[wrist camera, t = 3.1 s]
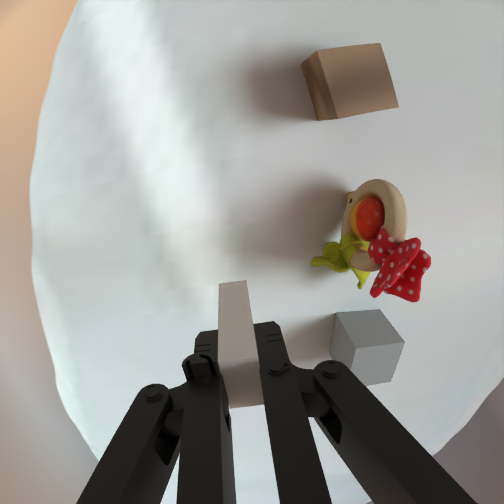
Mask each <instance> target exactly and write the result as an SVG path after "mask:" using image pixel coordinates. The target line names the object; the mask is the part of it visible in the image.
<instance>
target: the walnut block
mask: <svg viewBox="0 0 504 504" xmlns="http://www.w3.org/2000/svg"><path fill="white" fill-rule="evenodd" d="M301 67H302V70H303V73H304V76H305V79H306V82H307V86H308V89H309V92H310V95H311V99H312V102H313V105H314V109H315V112H316V116H317V119H318V121H321V120H332V119H340V118H345V117H349V116H354V115H359V114H364V113H369V112H374V111H380V110H385V109H391V108H397V107H399V106H398V102H397V98H396V94H395V90H394V87H393V83H392V79H391V76H390V73H389V69H388V66H387V63H386V59H385V56H384V53H383V50H382V47H381V44H380V43H375V44H364V45H354V46H346V47H338V48H331V49H325V50H318V51H316V52H315V53H314V54H312V55H311V56H310V57H309V58H308V59H307V60H305V61H304V62H303V63H302V64H301Z"/></svg>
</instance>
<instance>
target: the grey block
mask: <svg viewBox="0 0 504 504" xmlns="http://www.w3.org/2000/svg"><path fill="white" fill-rule="evenodd" d="M404 343H405V342H404V340H403V339H402V338H401V336H400V335H399V334H398V332H397V331H396V330H395V328H394V327H393V326H392V325H391V323H390V322H389V321H388V319H387V318H386V317H385V315H384V314H383V313H382V312H381V310H380V309H378V310H365V311H352V312H337V313H336V316H335V322H334V327H333V333H332V338H331V343H330V349H329V352H330V355H331V357H332V359H333V360H336V361H339V362H342V363H343V364H345V365H346V366H347V367H348V368H349V369H350V370H351V371H352V372H353V374H354V375H355V376H356V377H357V378H358V379H359V380H360V381H361V382H362V383H363V384H364V385H365V386H368V385H374V384H379V383H385V382H390V381H391V379H392V377H393V374H394V371H395V369H396V366H397V363H398V360H399V358H400V355H401V352H402V349H403V346H404Z"/></svg>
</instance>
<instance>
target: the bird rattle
mask: <svg viewBox="0 0 504 504" xmlns="http://www.w3.org/2000/svg"><path fill="white" fill-rule="evenodd" d="M406 227H407V212H406V206H405V202H404V199H403V197H402V195H401V193H400V191H399V190H398V189H397V188H396V187H395V186H394V185H393V184H391V183H389V182H387V181H385V180H381V179H374V180H370V181H367V182H365V183H364V184H362V185H361V186H360V187H358V189H357V190H356V191H353V192H349V193H348V194H347V205H346V208H345V212H344V215H343V220H342V229H341V240H340V244H341V245H340V244H339V243H337V242H330V243H328V244H327V245H326V246H325V247H324V253H323V256H320V257H313V258H312V261H311V263H310V265H312V266H324V265H327V266H328V267H329V268H330V269H332V270H334V271H336V272H341V273H342V272H346V271H348V270H349V268H351V269H352V270H353V272H354V273H355V275H356V276H357V278H358V280H359V283H358V285H357V286H358V288H359V289H361V288H362V287H363V285H364V283H365V281H366V279H367V278H368V276H369V274H370V272H373V271H378V270H380V271H379V273H378V275H377V277H376V279H375V281H374V283H373V286H372V288H371V290H370V295H371V296H372V297H373V298H376V297H377V296H379V295H380V294H381V293H382V292H383V291H384V292H385V293H386V294H392V295H396V296H398V297H401V298H403V299H405V300H407V301H410V302H417V301H419V299H420V291H421V279H422V276H423V274H424V273H425V272H426V271H427V270H428V268H429V267H430V265H431V257H430V256H429V255H428V254H427V253H426V252H425V251H423V250H421V249H420V247H421V241H420V239H418V238H411V239H409V240H405V239H404V237H405V233H406Z"/></svg>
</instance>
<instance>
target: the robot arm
mask: <svg viewBox="0 0 504 504" xmlns="http://www.w3.org/2000/svg"><path fill="white" fill-rule="evenodd" d="M182 368H183V371H184V374H185V376H186V379H187V382H185V383H184V384H182V385H180V386H178V387H175V388H171V389H168V388H167V387H166V386H164V385H162V384H151V385H147V386H145V387H144V388H142V389H141V390H140V392H139V393H138V394H137V396H136V398H135V400H134V401H133V403H132V405H131V406H130V408H129V410H128V412H127V413H126V415H125V417H124V419H123V420H122V422H121V424H120V426H119V427H118V429H117V431H116V433H115V434H114V436H113V438H112V440H111V442H110V443H109V445H108V447H107V449H106V450H105V452H104V454H103V456H102V458H101V459H100V461H99V463H98V465H97V467H96V468H95V471H94V472H93V474H92V476H91V477H90V479H89V481H88V483H87V485H86V487H85V489H84V490H83V492H82V494H81V496H80V498H79V500H78V501H77V503H76V504H160V502H161V500H162V497H163V495H164V492H165V490H166V487H167V484H168V482H169V479H170V477H171V474H172V471H173V469H174V466H175V464H176V461H177V458H178V456H179V453H180V458H179V472H178V487H177V504H236V492H235V477H234V462H233V446H232V429H231V417H230V413H229V407H230V408H239V407H247V406H255V405H262V404H264V406H265V412H266V419H267V425H268V431H269V438H270V444H271V450H272V457H273V463H274V469H275V475H276V481H277V488H278V494H279V500H280V504H332V502H331V498H330V495H329V491H328V487H327V484H326V480H325V477H324V473H323V469H322V466H321V462H320V459H319V455H318V452H317V448H316V444H315V441H314V437H313V434H312V430H311V427H310V423H309V420H308V417H314V419H315V421H316V422H317V424H318V425H319V427H320V428H321V430H322V431H323V432H324V434H325V435H326V437H327V438H328V440H329V441H330V443H331V444H332V445H333V447H334V448H335V450H336V451H337V453H338V454H339V455H340V457H341V458H342V460H343V461H344V462H345V464H346V465H347V467H348V468H349V469H350V471H351V472H352V474H353V475H354V476H355V478H356V479H357V481H358V482H359V483H360V485H361V486H362V487H363V489H364V490H365V492H366V493H367V494H368V496H369V497H370V498H371V500H372V501H373V502H374V504H477V503H476V502H475V501H474V500H473V499H472V498H471V497H470V496H469V495H468V494H467V493H466V492H465V491H464V489H463V488H462V487H461V486H460V485H459V484H458V483H457V482H456V481H455V480H454V479H453V478H452V477H451V476H450V475H449V474H448V473H447V472H446V471H445V470H444V469H443V468H442V467H441V466H440V465H439V463H438V462H437V461H436V460H435V459H434V458H433V457H432V456H431V455H430V454H429V453H428V452H427V451H426V450H425V449H424V448H423V447H422V446H421V445H420V444H419V442H418V441H417V440H416V439H415V438H414V437H413V436H412V435H411V434H410V433H409V432H408V431H407V430H406V429H405V428H404V427H403V426H402V425H401V423H400V422H399V421H398V420H397V419H396V418H395V417H394V416H393V415H392V414H391V413H390V412H389V411H388V410H387V409H386V408H385V407H384V405H383V404H382V403H381V402H380V401H379V400H378V399H377V398H376V397H375V396H374V395H373V394H372V393H371V392H370V391H369V390H368V388H367V387H366V386H365V385H364V384H363V383H362V382H361V381H360V380H359V379H358V378H357V377H356V376H355V375H354V374H353V372H352V371H351V370H350V369H349V368H348V367H347V366H346V365H345V364H343V363H342V362H339V361H336V360H327V361H323V362H321V363H319V364H317V366H316V367H315V368H314V369H302V368H298V367H296V366H294V365H293V364H292V363H291V362H290V360H289V357H288V354H287V350H286V347H285V343H284V340H283V336H282V333H281V329H280V326H279V325H278V324H276V323H275V322H274V321H271V322H264V323H258V324H253V320H252V314H251V308H250V301H249V295H248V288H247V282H246V280H244V281H237V282H230V283H223V284H219V311H218V330H211V331H203V332H200V333H199V334H198V336H197V337H196V339H195V348H194V354H192V355H190V356H188V357H187V358H186V359H185V360H184V361H183V363H182Z"/></svg>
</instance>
